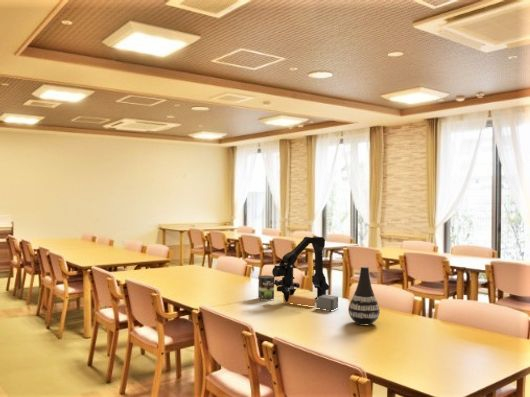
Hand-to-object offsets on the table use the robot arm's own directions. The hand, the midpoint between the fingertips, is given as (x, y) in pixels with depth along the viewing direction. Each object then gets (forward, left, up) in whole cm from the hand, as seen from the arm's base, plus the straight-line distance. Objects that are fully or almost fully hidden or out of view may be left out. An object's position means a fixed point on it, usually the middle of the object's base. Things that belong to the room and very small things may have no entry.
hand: (288, 301), depth 295 cm
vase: (+18, +55, -1) cm, 58 cm away
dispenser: (0, +26, -1) cm, 26 cm away
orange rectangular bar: (0, +8, -1) cm, 8 cm away
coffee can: (-2, -17, -1) cm, 17 cm away
